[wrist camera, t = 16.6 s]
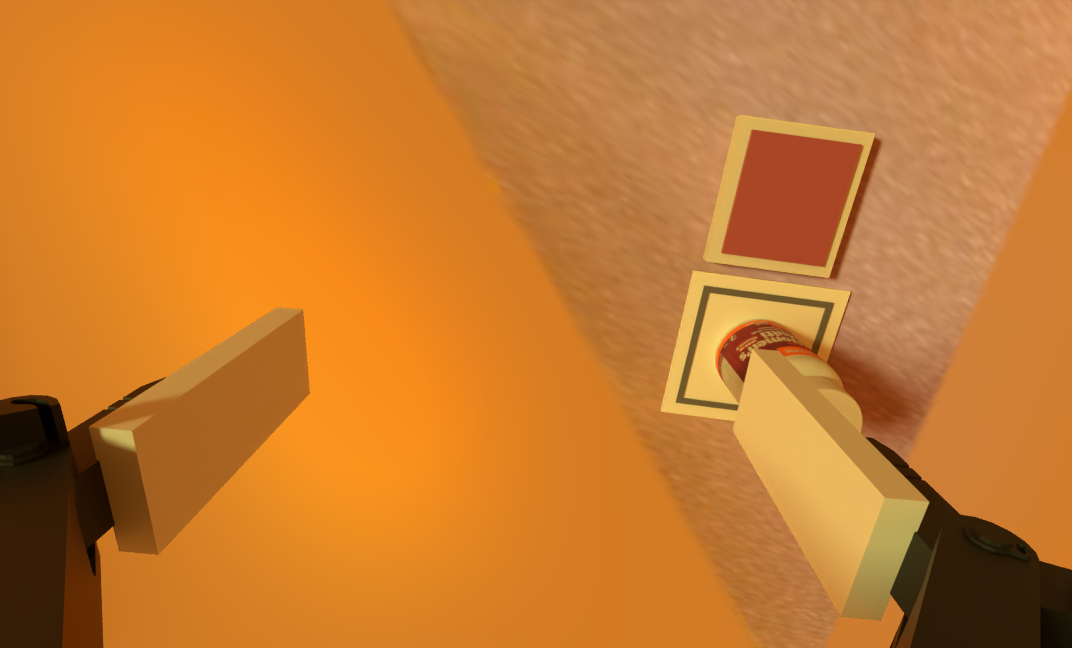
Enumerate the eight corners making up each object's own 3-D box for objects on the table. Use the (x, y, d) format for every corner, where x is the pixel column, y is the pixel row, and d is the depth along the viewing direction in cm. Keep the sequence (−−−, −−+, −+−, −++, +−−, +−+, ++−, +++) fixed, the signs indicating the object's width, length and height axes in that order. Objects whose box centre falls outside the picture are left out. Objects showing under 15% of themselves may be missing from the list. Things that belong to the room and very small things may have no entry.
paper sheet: (693, 270, 40) (694, 271, 40) (849, 291, 40) (851, 292, 40) (660, 410, 44) (661, 412, 44) (802, 428, 44) (804, 430, 44)
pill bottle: (781, 305, 41) (862, 365, 30) (799, 373, 42) (883, 453, 32) (702, 333, 41) (754, 400, 31) (724, 399, 43) (780, 484, 33)
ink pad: (736, 115, 36) (744, 115, 35) (865, 133, 36) (878, 133, 35) (702, 258, 40) (708, 262, 38) (821, 274, 40) (831, 279, 38)
